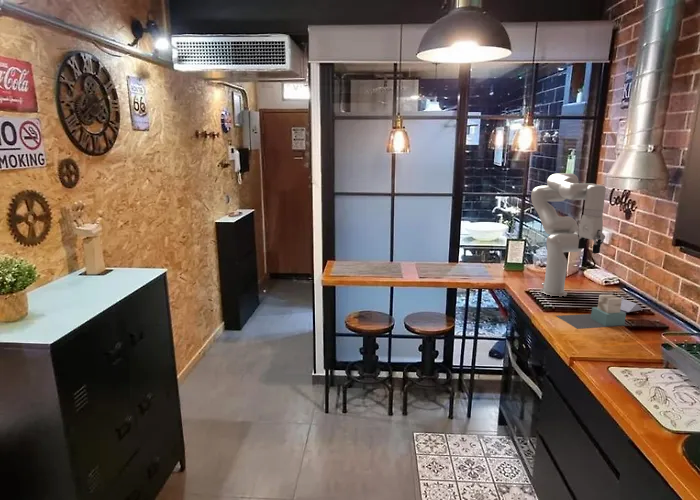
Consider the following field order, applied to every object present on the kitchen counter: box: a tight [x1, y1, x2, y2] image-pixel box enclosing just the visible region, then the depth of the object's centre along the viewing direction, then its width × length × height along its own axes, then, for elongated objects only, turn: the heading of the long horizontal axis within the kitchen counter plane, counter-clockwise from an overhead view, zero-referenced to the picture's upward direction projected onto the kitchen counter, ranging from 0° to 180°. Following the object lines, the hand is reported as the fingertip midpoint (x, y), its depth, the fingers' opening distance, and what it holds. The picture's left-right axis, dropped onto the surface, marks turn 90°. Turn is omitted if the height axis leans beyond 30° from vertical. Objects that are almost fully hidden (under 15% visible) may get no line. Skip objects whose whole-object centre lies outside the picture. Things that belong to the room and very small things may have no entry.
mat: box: [556, 313, 630, 330], centre depth 197 cm, size 15×24×1 cm, turn 99°
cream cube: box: [597, 294, 623, 313], centre depth 194 cm, size 6×6×6 cm
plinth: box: [590, 306, 627, 326], centre depth 195 cm, size 9×9×5 cm
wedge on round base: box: [620, 298, 644, 314], centre depth 208 cm, size 9×7×13 cm
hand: (588, 250), depth 206 cm, fingers open, 9 cm apart
